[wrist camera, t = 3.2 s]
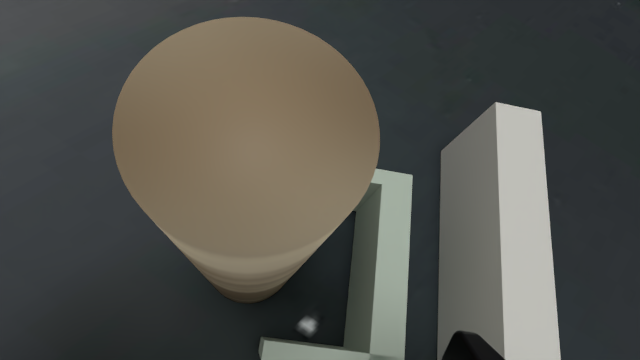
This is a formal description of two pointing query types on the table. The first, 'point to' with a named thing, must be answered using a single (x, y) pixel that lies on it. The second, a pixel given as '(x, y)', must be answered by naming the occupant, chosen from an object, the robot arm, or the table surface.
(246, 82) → the dowel
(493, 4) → the table surface
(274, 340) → the bracket
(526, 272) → the wall
